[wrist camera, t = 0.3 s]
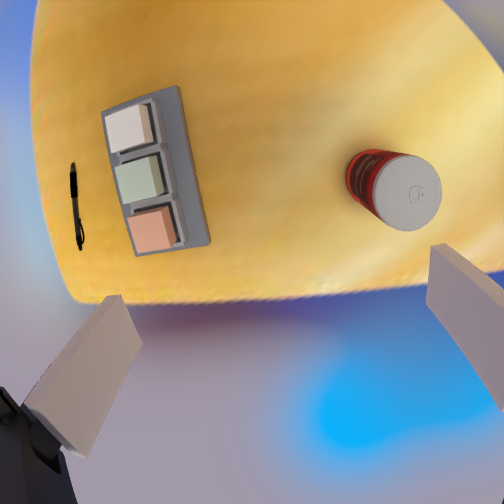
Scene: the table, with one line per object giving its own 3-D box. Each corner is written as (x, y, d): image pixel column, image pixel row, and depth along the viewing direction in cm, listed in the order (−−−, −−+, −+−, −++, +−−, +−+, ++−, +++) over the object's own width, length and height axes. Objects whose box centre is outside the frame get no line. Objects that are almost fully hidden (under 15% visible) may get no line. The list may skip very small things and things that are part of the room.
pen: (87, 248, 41) (85, 251, 40) (78, 248, 40) (76, 251, 39) (80, 161, 35) (77, 162, 34) (70, 162, 35) (68, 163, 34)
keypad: (106, 112, 32) (93, 111, 29) (179, 87, 31) (170, 82, 27) (139, 252, 40) (130, 262, 36) (211, 241, 38) (206, 251, 35)
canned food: (404, 195, 35) (447, 217, 24) (354, 214, 36) (385, 243, 26) (389, 141, 32) (433, 146, 22) (336, 159, 34) (364, 168, 23)
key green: (124, 164, 31) (114, 167, 29) (156, 155, 31) (148, 157, 28) (132, 199, 33) (123, 204, 30) (164, 191, 32) (157, 196, 30)
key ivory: (114, 117, 29) (104, 117, 26) (147, 106, 28) (138, 104, 26) (121, 151, 30) (111, 153, 28) (153, 141, 30) (145, 142, 28)
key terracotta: (135, 212, 33) (127, 218, 31) (167, 205, 33) (160, 210, 31) (145, 245, 35) (137, 253, 33) (176, 240, 35) (170, 247, 32)
